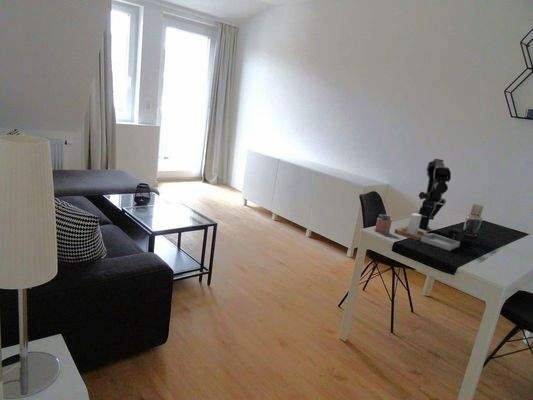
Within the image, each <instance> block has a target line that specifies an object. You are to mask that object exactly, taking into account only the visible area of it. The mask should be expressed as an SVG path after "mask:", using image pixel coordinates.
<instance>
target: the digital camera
mask: <svg viewBox="0 0 533 400" xmlns="http://www.w3.org/2000/svg"><path fill="white" fill-rule="evenodd" d="M465 235H466V229H465V228H464V229H463V228H461V227H456V228H449V230H448V231H447V236H448V238H449V239H452V240H455V241H459V242H460V243H461V242H463V241H464V239H465Z"/></svg>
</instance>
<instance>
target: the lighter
mask: <svg viewBox="0 0 533 400" xmlns="http://www.w3.org/2000/svg"><path fill="white" fill-rule="evenodd" d="M392 222H393V220H392V219H391V215H387V214H381V213H380V214H379V215H378V217H377V218H376V223H375V229H374V232H376V233H379V234H385V235H386V234H390V230H391V225H392Z"/></svg>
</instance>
